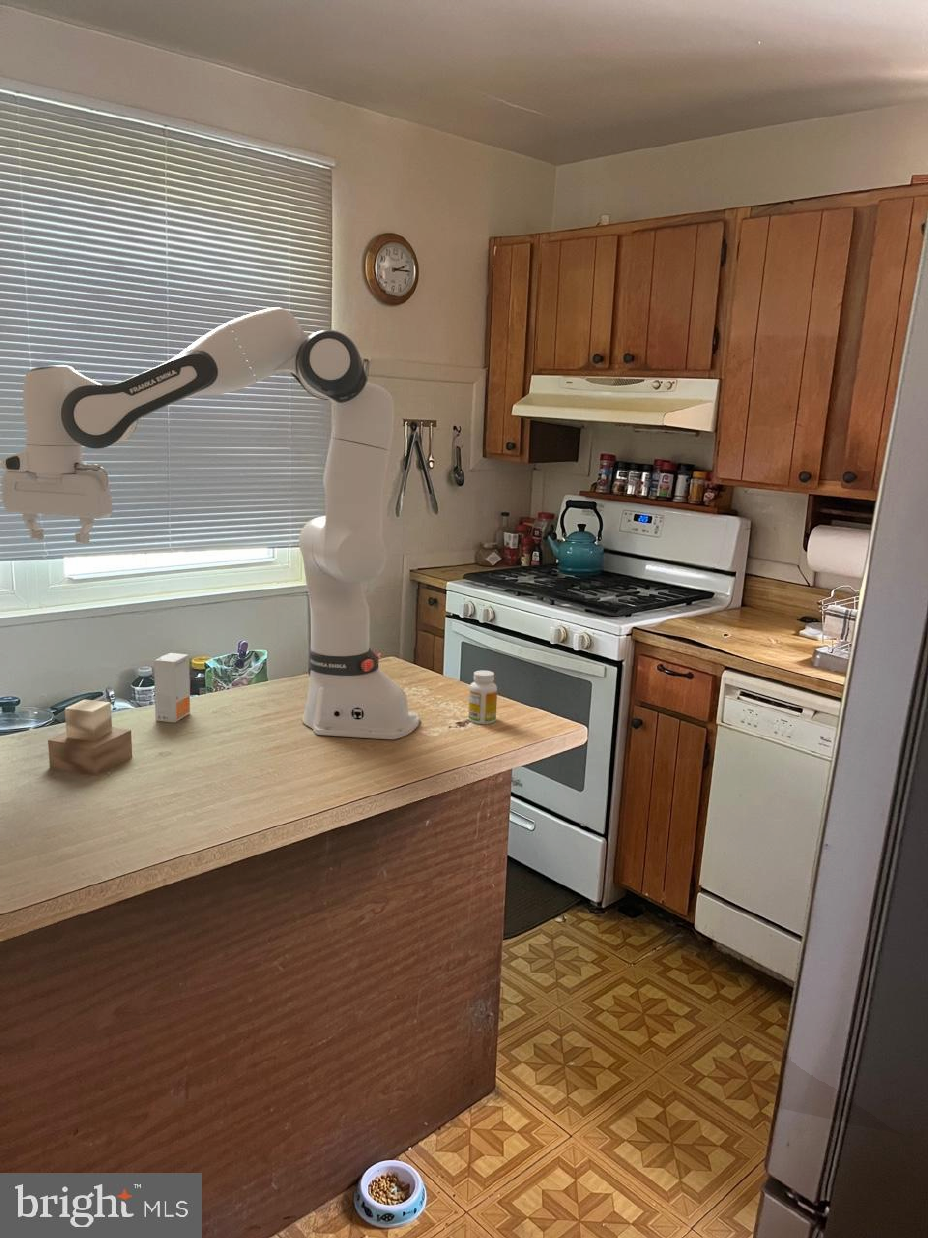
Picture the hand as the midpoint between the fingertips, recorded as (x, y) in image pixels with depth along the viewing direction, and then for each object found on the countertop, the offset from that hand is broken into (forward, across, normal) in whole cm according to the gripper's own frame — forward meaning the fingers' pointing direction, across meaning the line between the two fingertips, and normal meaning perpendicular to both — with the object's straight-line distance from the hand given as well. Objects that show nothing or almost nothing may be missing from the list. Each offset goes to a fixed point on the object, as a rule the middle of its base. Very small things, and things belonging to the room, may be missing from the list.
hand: (59, 541), depth 158 cm
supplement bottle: (+34, -71, -30) cm, 84 cm away
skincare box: (+34, -15, -10) cm, 39 cm away
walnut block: (+34, -15, +14) cm, 40 cm away
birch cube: (+29, -15, +14) cm, 36 cm away
